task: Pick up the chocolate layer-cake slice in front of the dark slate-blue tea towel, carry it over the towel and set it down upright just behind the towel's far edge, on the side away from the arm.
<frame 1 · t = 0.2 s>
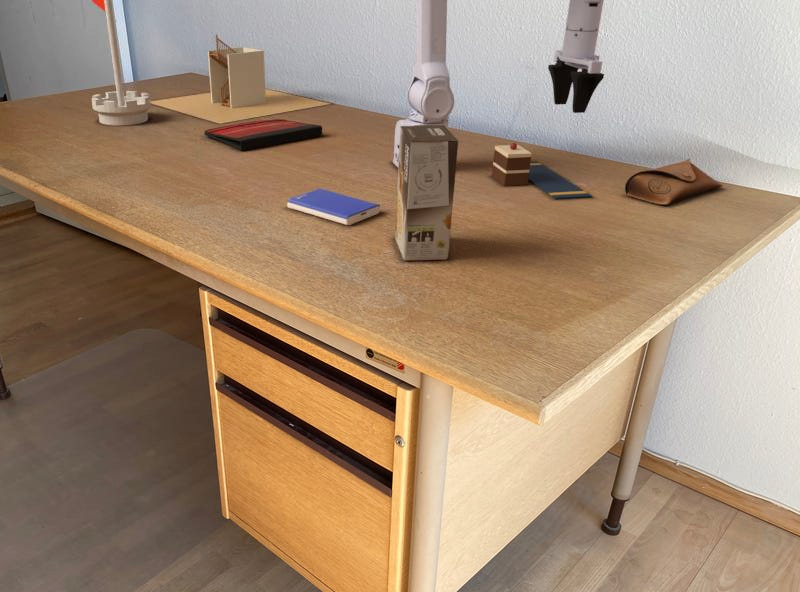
hand: (569, 108, 140), 10 cm above the table, tool pointing down, fingers open, 7 cm apart
cloth: (545, 179, 134), on the table
staircase: (238, 103, 191), on the table
hard drive: (333, 212, 118), on the table
sunglasses case: (673, 192, 128), on the table
cake slice: (509, 180, 133), on the table
flag stand: (124, 120, 173), on the table
coffee box: (420, 249, 104), on the table
binder: (261, 137, 160), on the table
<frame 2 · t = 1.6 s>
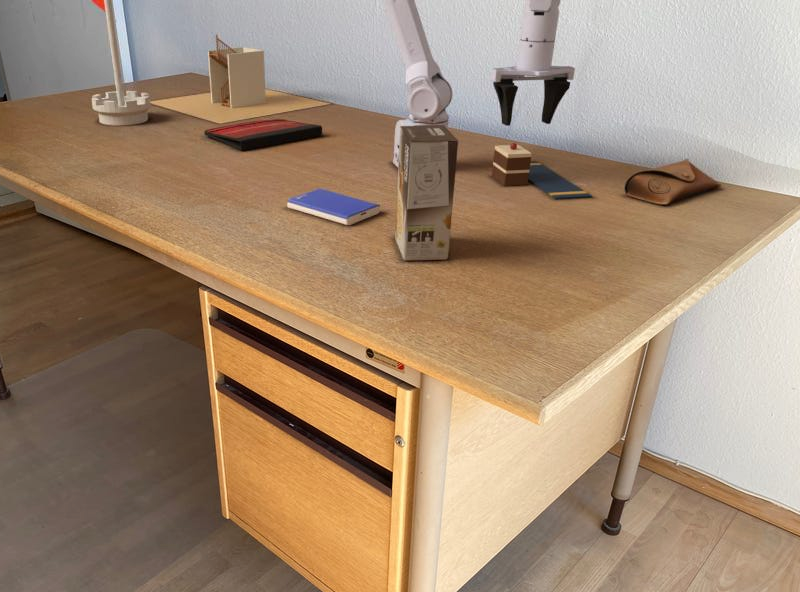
hand: (526, 123, 130), 9 cm above the table, tool pointing down, fingers open, 7 cm apart
nothing on the table moved.
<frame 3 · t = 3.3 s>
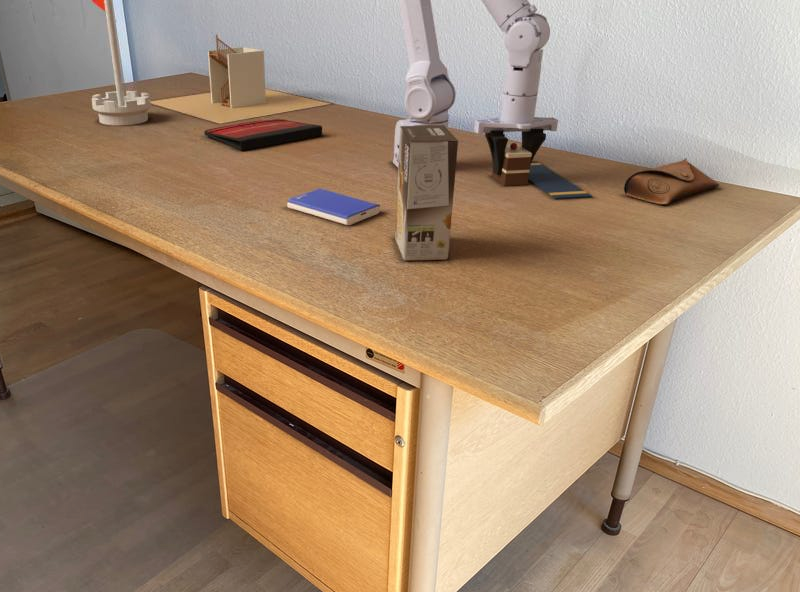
hand: (510, 172, 132), 1 cm above the table, tool pointing down, fingers closed on cake slice, 4 cm apart
cake slice: (509, 180, 133), on the table, touching gripper
everything else where it was.
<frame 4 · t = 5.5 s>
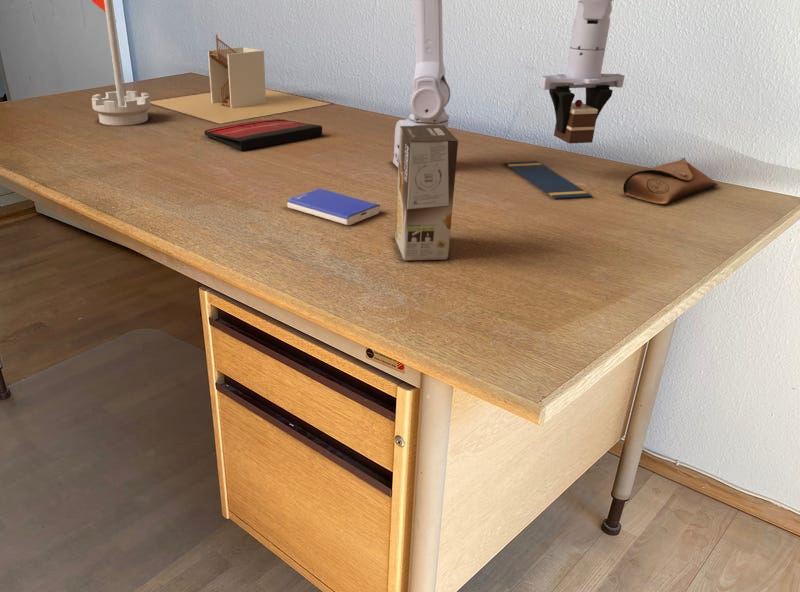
hand: (573, 130, 131), 8 cm above the table, tool pointing down, fingers closed on cake slice, 4 cm apart
cake slice: (572, 139, 131), point 7 cm above the table, touching gripper
everything else where it was.
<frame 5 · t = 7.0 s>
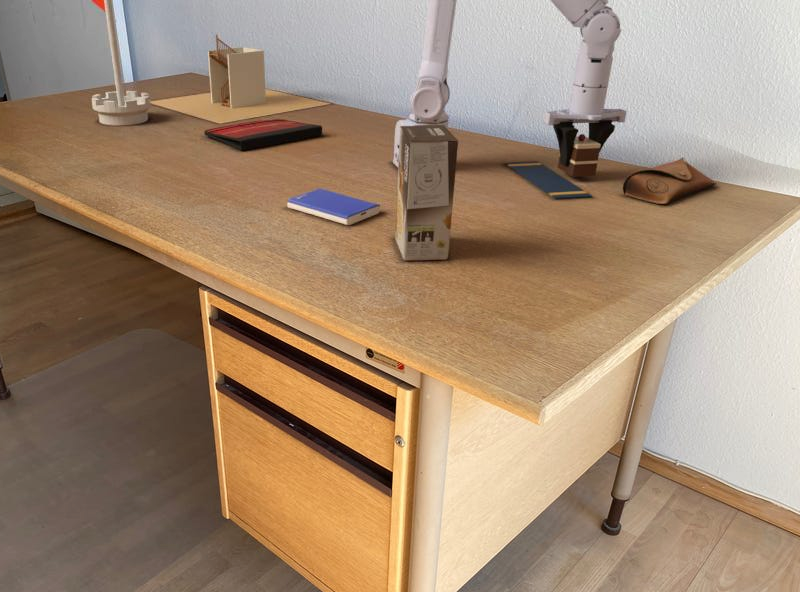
hand: (577, 164, 134), 2 cm above the table, tool pointing down, fingers closed on cake slice, 4 cm apart
cake slice: (576, 171, 135), point 1 cm above the table, touching gripper
everything else where it was.
when the fingers open (1 cm above the table, at t = 7.8 s): cake slice stays where it is, on the table.
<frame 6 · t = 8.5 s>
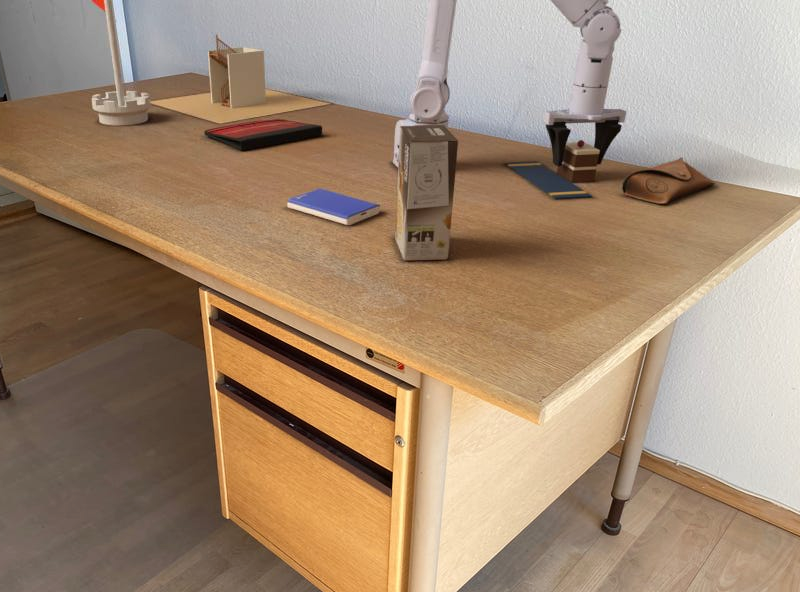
hand: (576, 163, 134), 2 cm above the table, tool pointing down, fingers open, 7 cm apart
cake slice: (575, 177, 135), on the table
everything else where it was.
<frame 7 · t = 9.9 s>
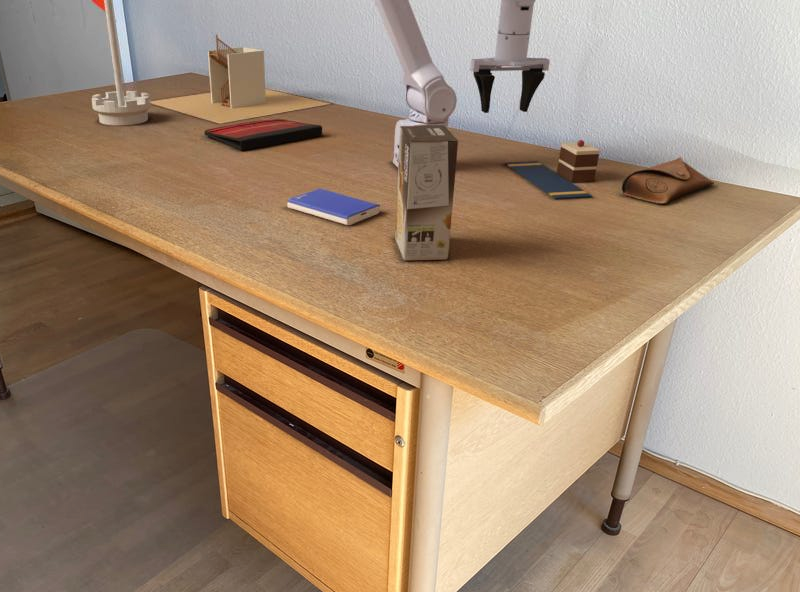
hand: (504, 111, 140), 9 cm above the table, tool pointing down, fingers open, 7 cm apart
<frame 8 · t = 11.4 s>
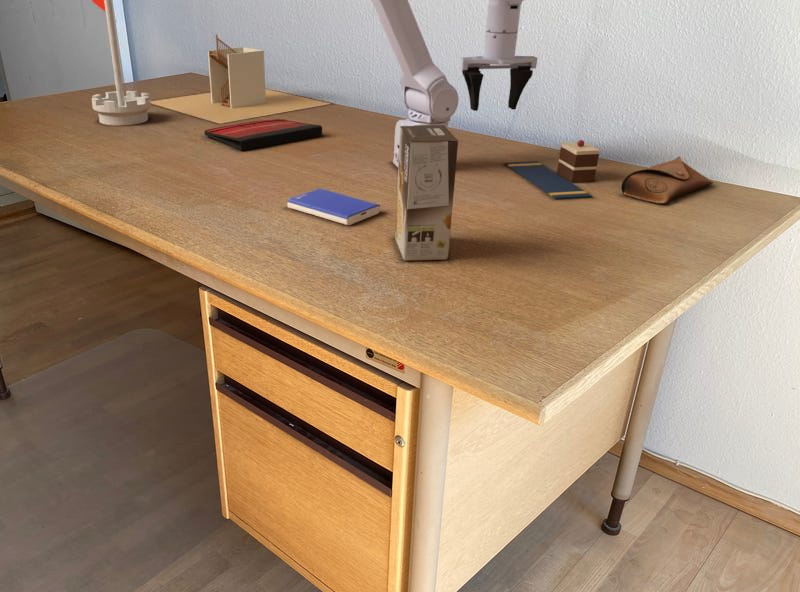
hand: (493, 109, 141), 9 cm above the table, tool pointing down, fingers open, 7 cm apart
at the end: cake slice inside the target area (1.7 cm from its centre), on the table; cake slice tilted 0°; the gripper is holding nothing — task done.
